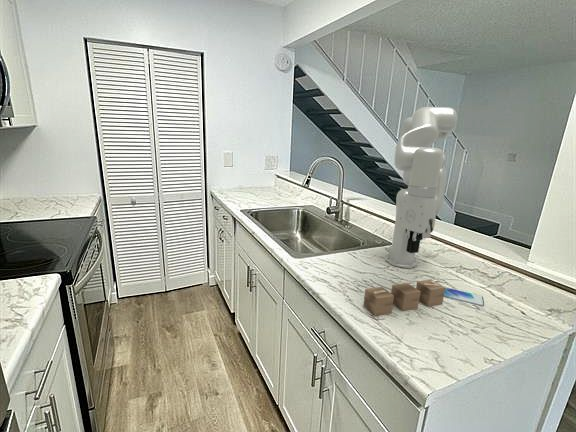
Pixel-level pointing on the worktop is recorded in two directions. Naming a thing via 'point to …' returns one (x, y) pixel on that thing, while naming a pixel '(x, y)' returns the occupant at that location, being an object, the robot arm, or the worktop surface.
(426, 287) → the block seven
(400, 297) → the plain block
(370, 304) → the block one
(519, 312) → the worktop surface
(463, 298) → the smartphone
